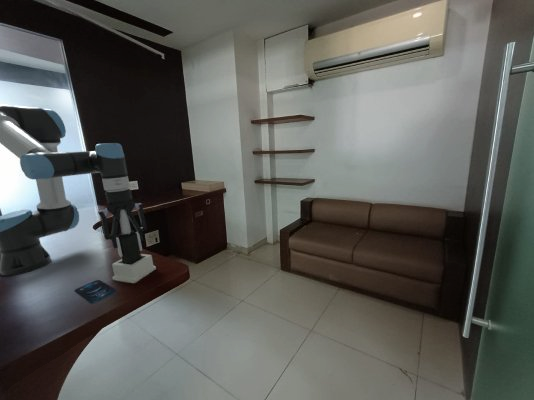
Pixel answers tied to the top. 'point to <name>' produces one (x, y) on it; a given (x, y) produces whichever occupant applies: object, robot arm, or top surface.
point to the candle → (128, 241)
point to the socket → (133, 269)
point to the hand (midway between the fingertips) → (130, 252)
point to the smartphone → (95, 291)
